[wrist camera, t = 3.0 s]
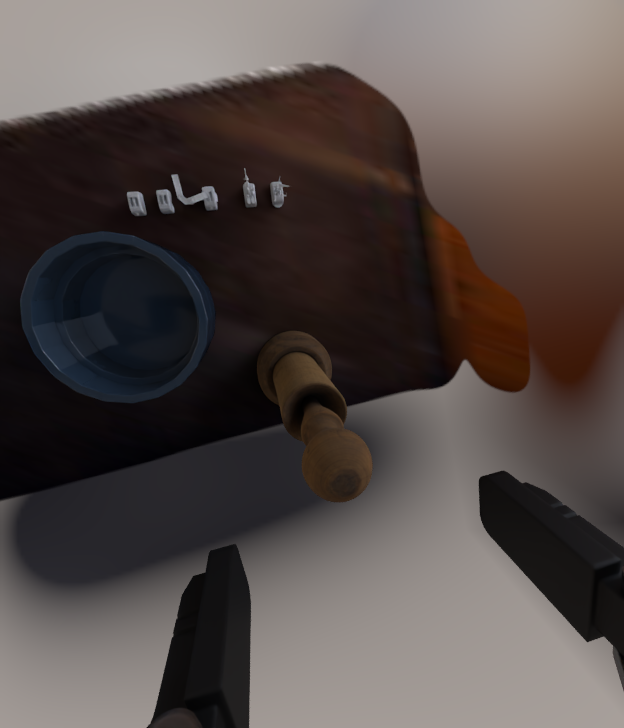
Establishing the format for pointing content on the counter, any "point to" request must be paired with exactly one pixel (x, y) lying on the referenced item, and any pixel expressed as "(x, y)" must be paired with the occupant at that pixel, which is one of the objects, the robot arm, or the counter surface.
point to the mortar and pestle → (314, 415)
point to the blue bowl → (117, 316)
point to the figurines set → (201, 197)
